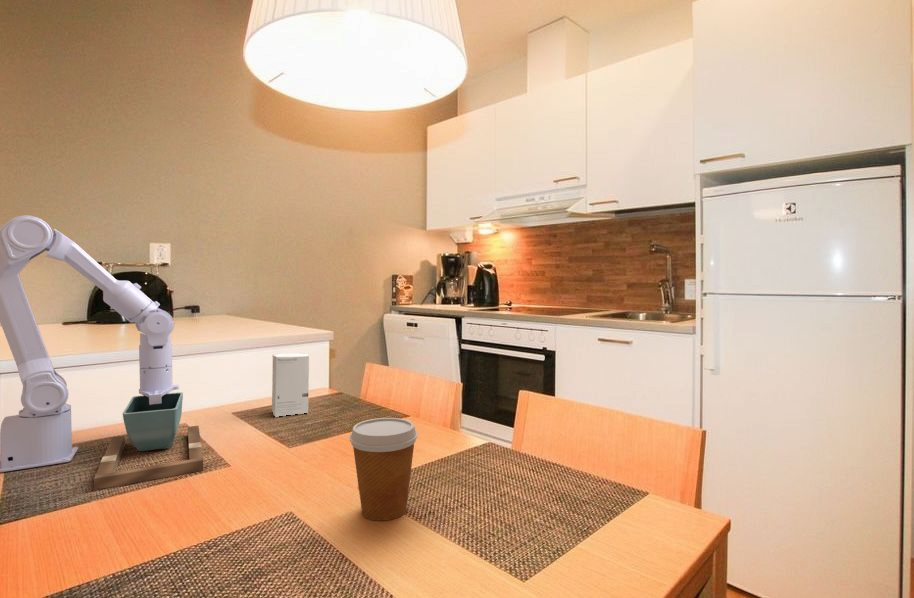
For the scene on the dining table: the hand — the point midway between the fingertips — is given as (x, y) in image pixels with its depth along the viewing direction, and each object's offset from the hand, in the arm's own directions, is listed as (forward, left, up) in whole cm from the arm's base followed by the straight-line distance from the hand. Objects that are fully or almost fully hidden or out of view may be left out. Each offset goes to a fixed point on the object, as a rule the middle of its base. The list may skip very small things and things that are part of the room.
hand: (157, 431), depth 97 cm
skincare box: (+28, +7, -2) cm, 29 cm away
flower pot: (0, -5, -1) cm, 5 cm away
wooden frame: (0, -11, -2) cm, 11 cm away
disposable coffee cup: (+29, -53, -2) cm, 61 cm away
